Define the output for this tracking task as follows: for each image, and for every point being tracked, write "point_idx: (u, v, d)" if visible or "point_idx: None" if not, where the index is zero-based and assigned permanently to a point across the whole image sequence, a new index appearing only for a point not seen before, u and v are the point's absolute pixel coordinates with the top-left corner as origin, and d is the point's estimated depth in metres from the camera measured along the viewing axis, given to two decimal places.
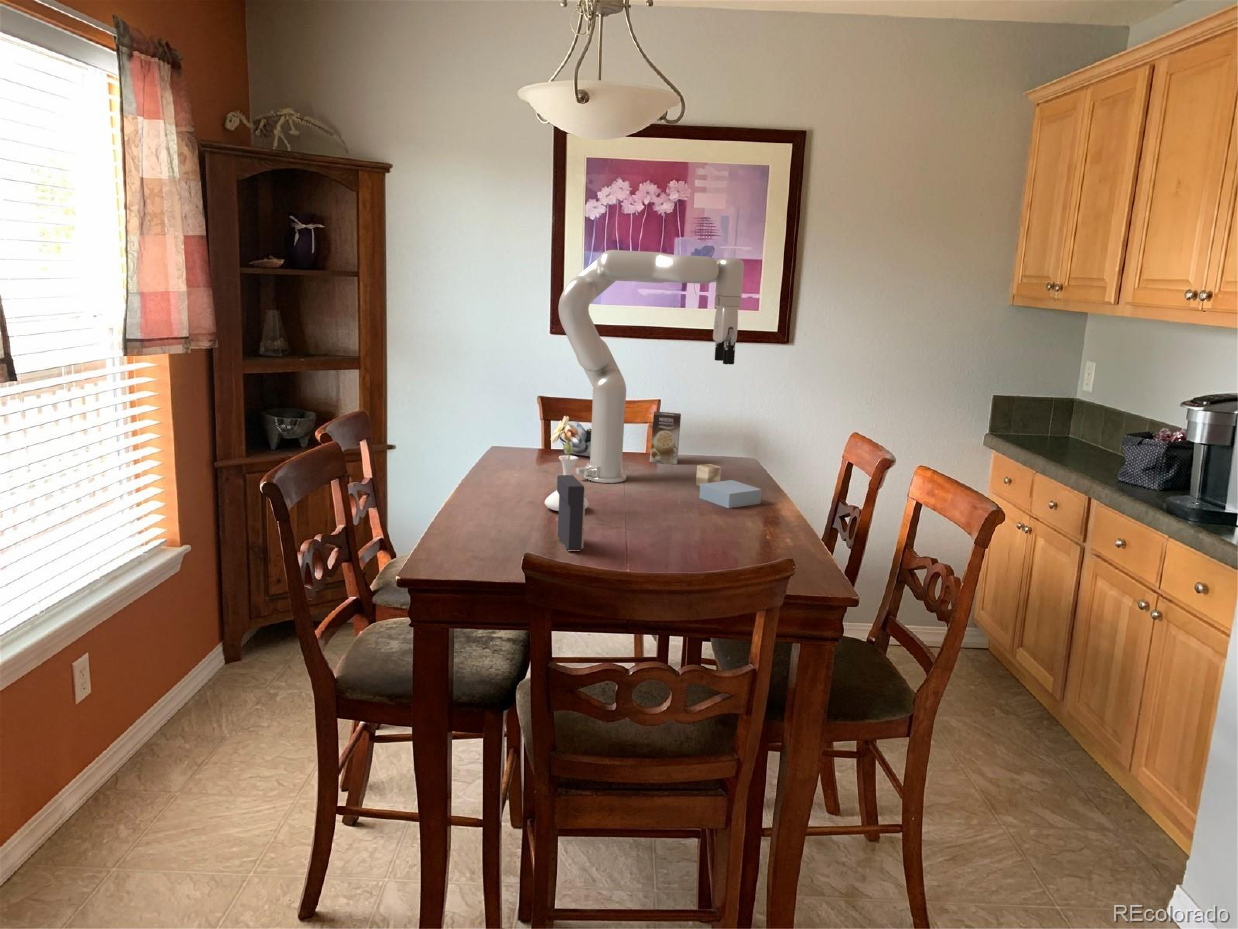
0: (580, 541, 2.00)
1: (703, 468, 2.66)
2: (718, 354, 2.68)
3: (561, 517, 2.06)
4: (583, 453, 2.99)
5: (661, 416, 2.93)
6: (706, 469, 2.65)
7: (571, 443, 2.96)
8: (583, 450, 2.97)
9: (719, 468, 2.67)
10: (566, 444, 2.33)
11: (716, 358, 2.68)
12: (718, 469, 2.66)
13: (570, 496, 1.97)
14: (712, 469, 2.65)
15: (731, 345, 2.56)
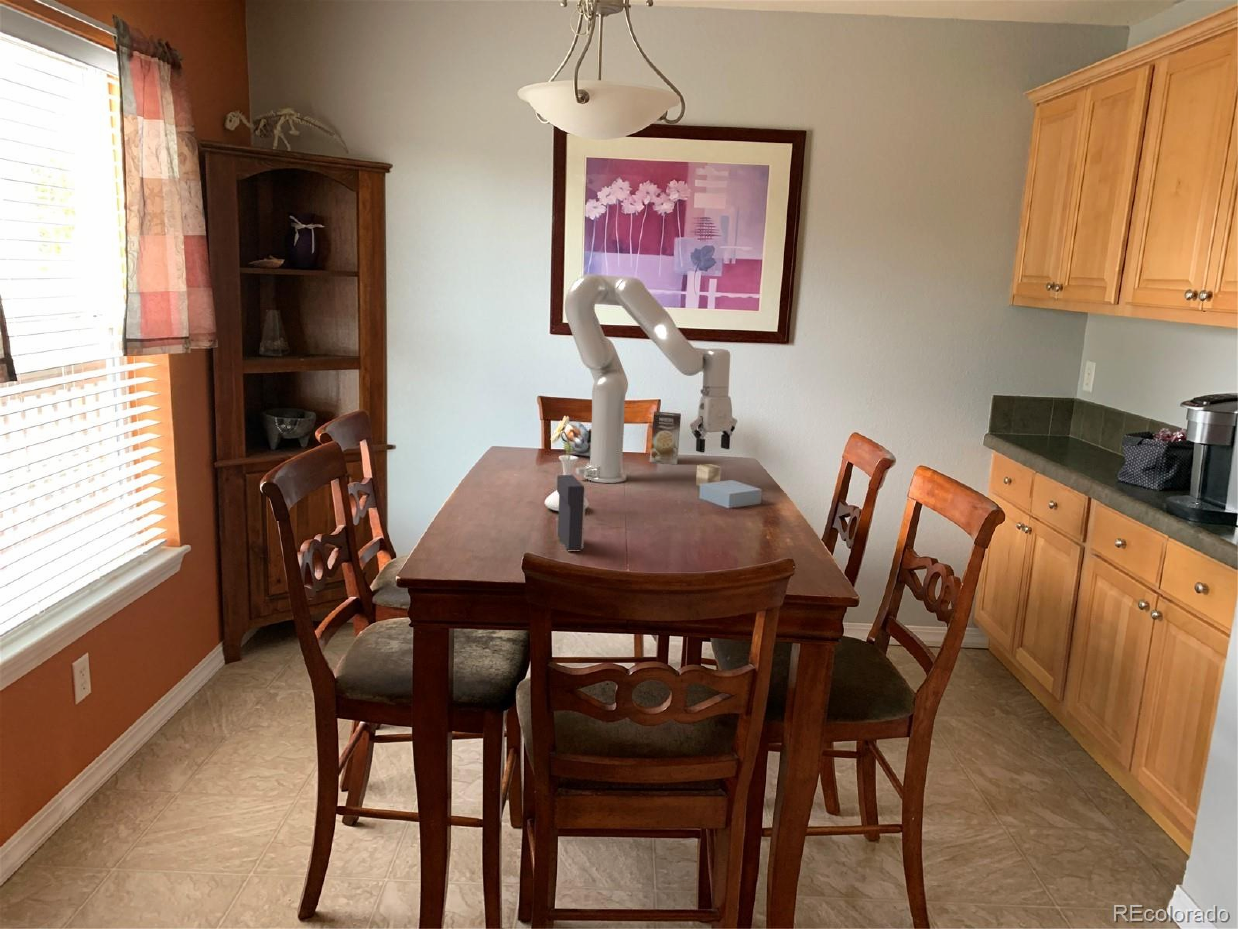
0: (580, 541, 2.00)
1: (703, 468, 2.66)
2: None
3: (561, 517, 2.06)
4: (585, 453, 2.98)
5: (661, 416, 2.93)
6: (706, 469, 2.65)
7: (573, 443, 2.96)
8: (585, 451, 2.97)
9: (719, 468, 2.67)
10: (566, 444, 2.33)
11: None
12: (718, 469, 2.66)
13: (570, 496, 1.97)
14: (712, 469, 2.65)
15: None
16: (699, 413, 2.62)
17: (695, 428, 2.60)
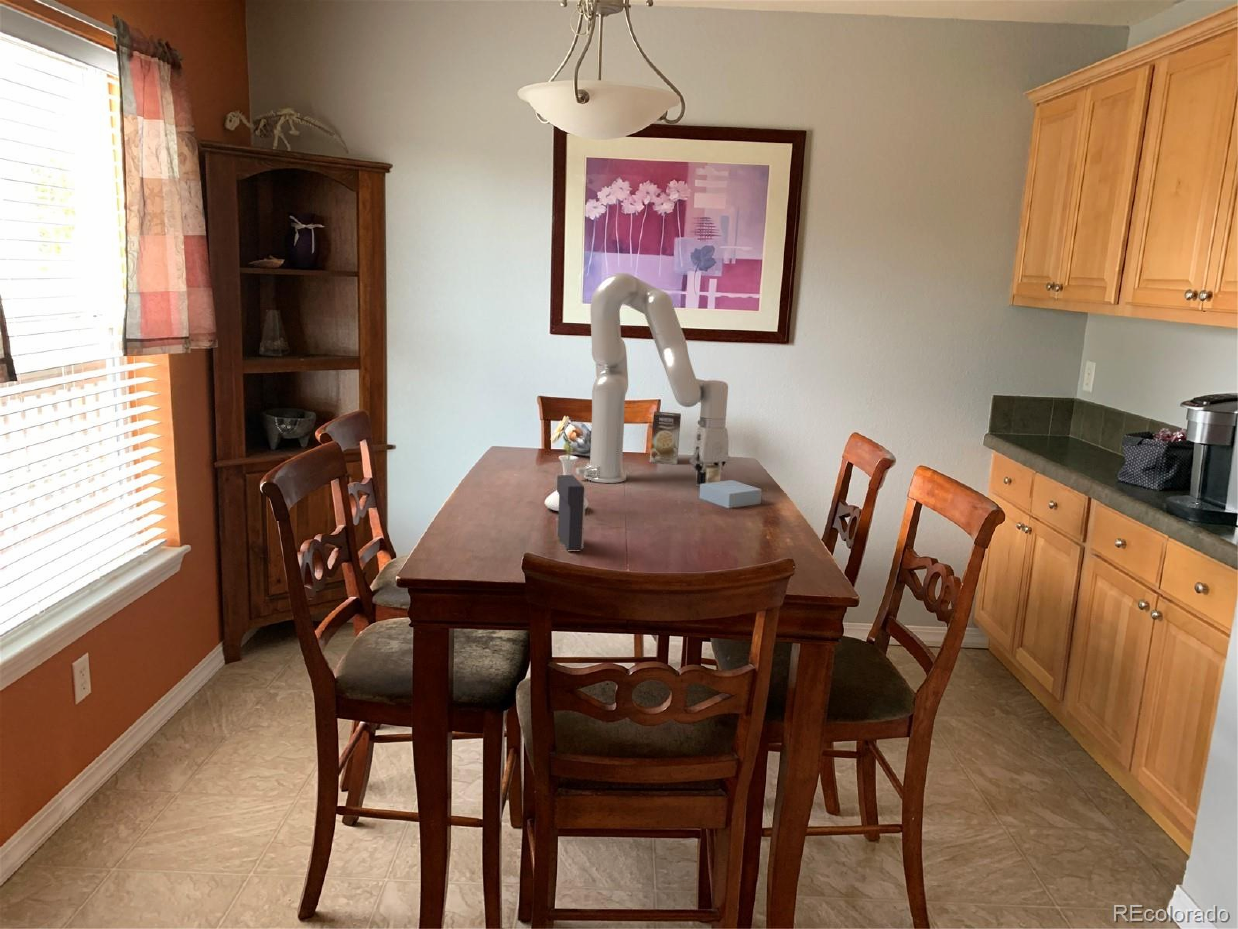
0: (580, 541, 2.00)
1: None
2: None
3: (561, 517, 2.06)
4: (588, 453, 2.98)
5: (661, 416, 2.93)
6: (706, 469, 2.65)
7: (576, 444, 2.95)
8: (588, 451, 2.97)
9: (719, 468, 2.67)
10: (566, 444, 2.33)
11: None
12: (718, 469, 2.66)
13: (570, 496, 1.97)
14: (712, 469, 2.65)
15: None
16: (696, 444, 2.64)
17: (695, 463, 2.63)
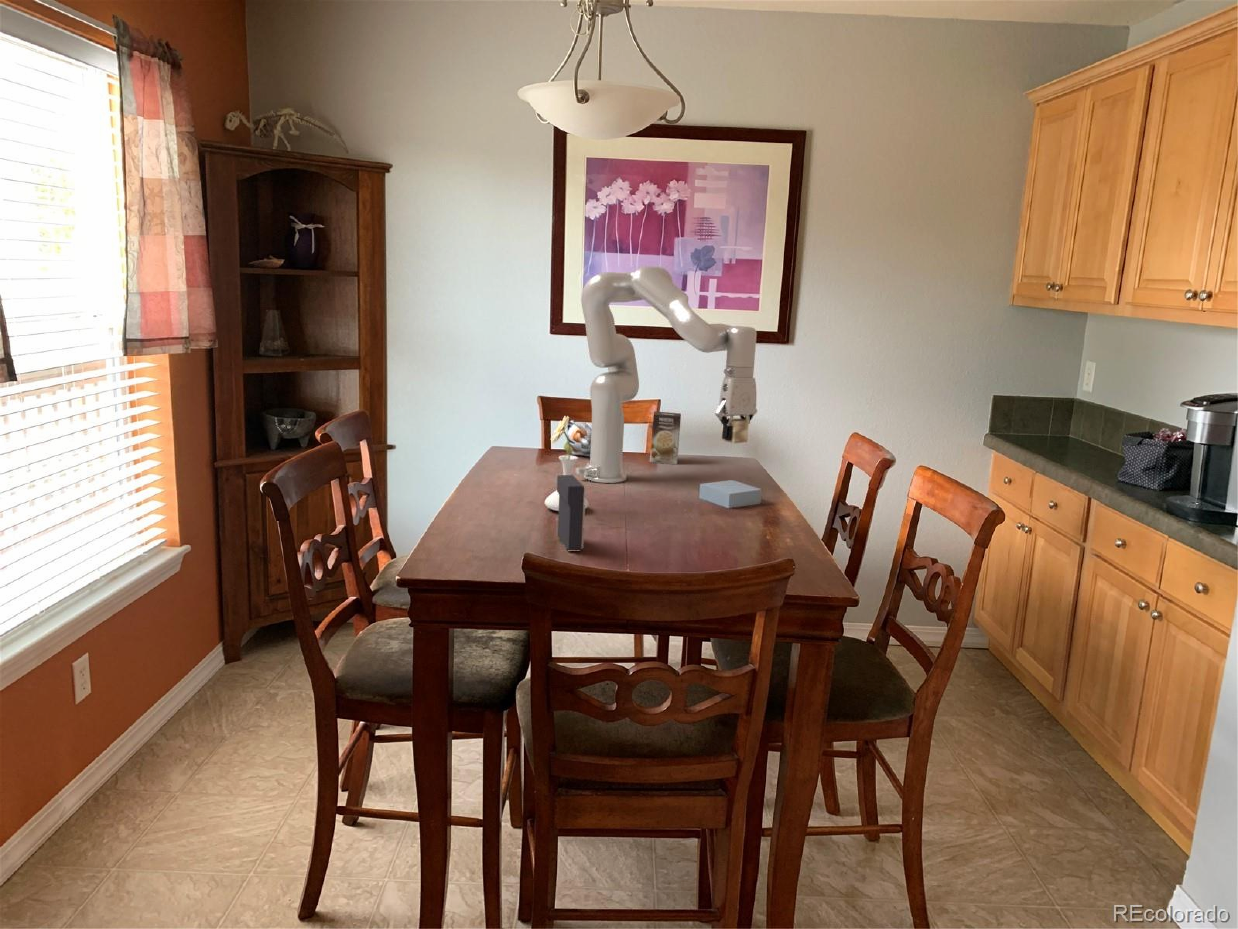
0: (580, 541, 2.00)
1: None
2: None
3: (561, 517, 2.06)
4: None
5: (661, 416, 2.93)
6: (733, 422, 2.45)
7: (580, 444, 2.95)
8: None
9: (747, 421, 2.47)
10: (566, 444, 2.33)
11: None
12: (746, 422, 2.47)
13: (570, 496, 1.97)
14: (739, 422, 2.46)
15: None
16: (721, 395, 2.45)
17: (721, 415, 2.44)
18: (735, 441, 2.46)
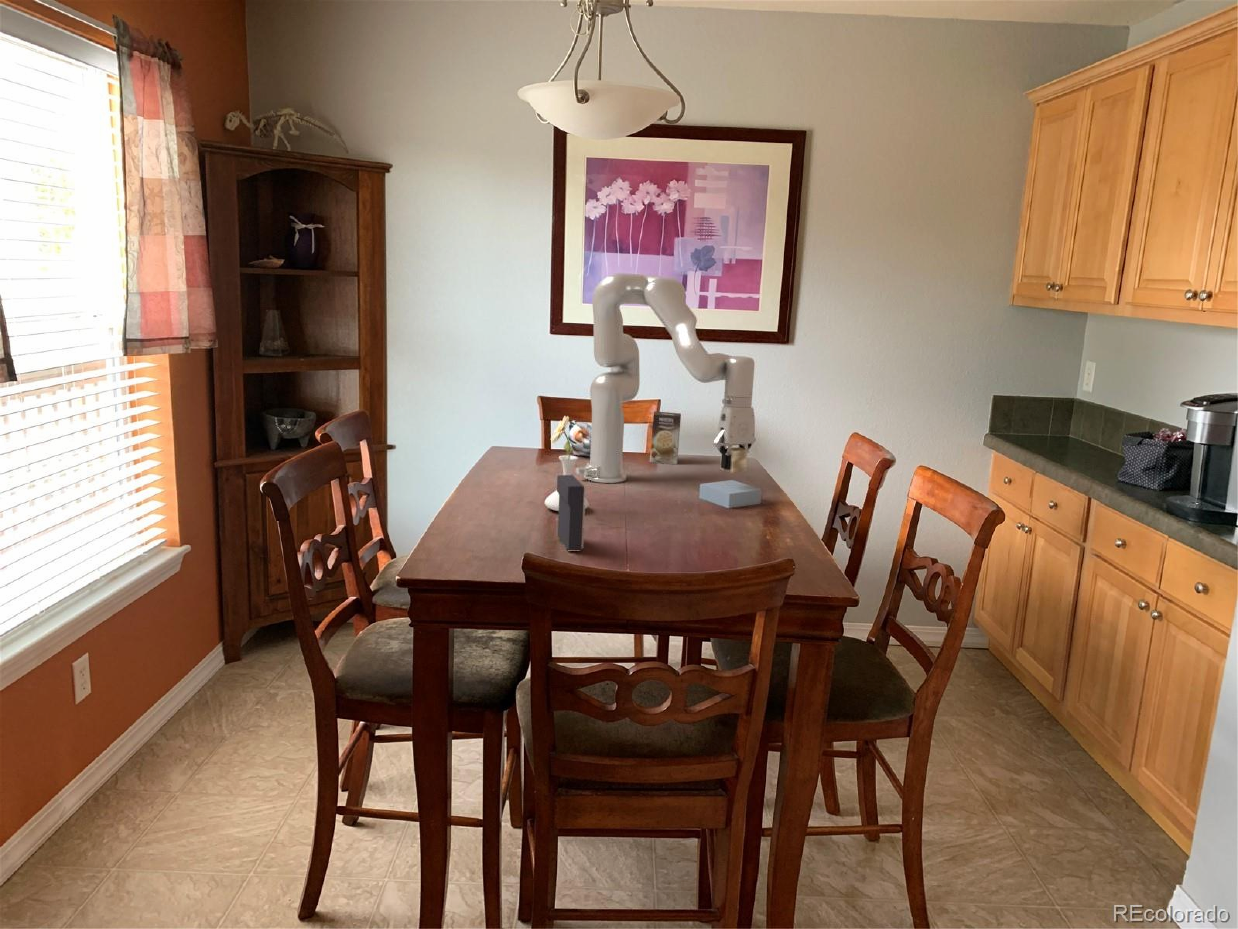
0: (580, 541, 2.00)
1: None
2: None
3: (561, 517, 2.06)
4: None
5: (661, 416, 2.93)
6: (731, 451, 2.47)
7: (582, 444, 2.95)
8: None
9: (745, 450, 2.49)
10: (566, 444, 2.33)
11: None
12: (744, 451, 2.48)
13: (569, 496, 1.97)
14: (738, 451, 2.47)
15: None
16: (720, 424, 2.46)
17: (720, 445, 2.45)
18: (734, 470, 2.47)
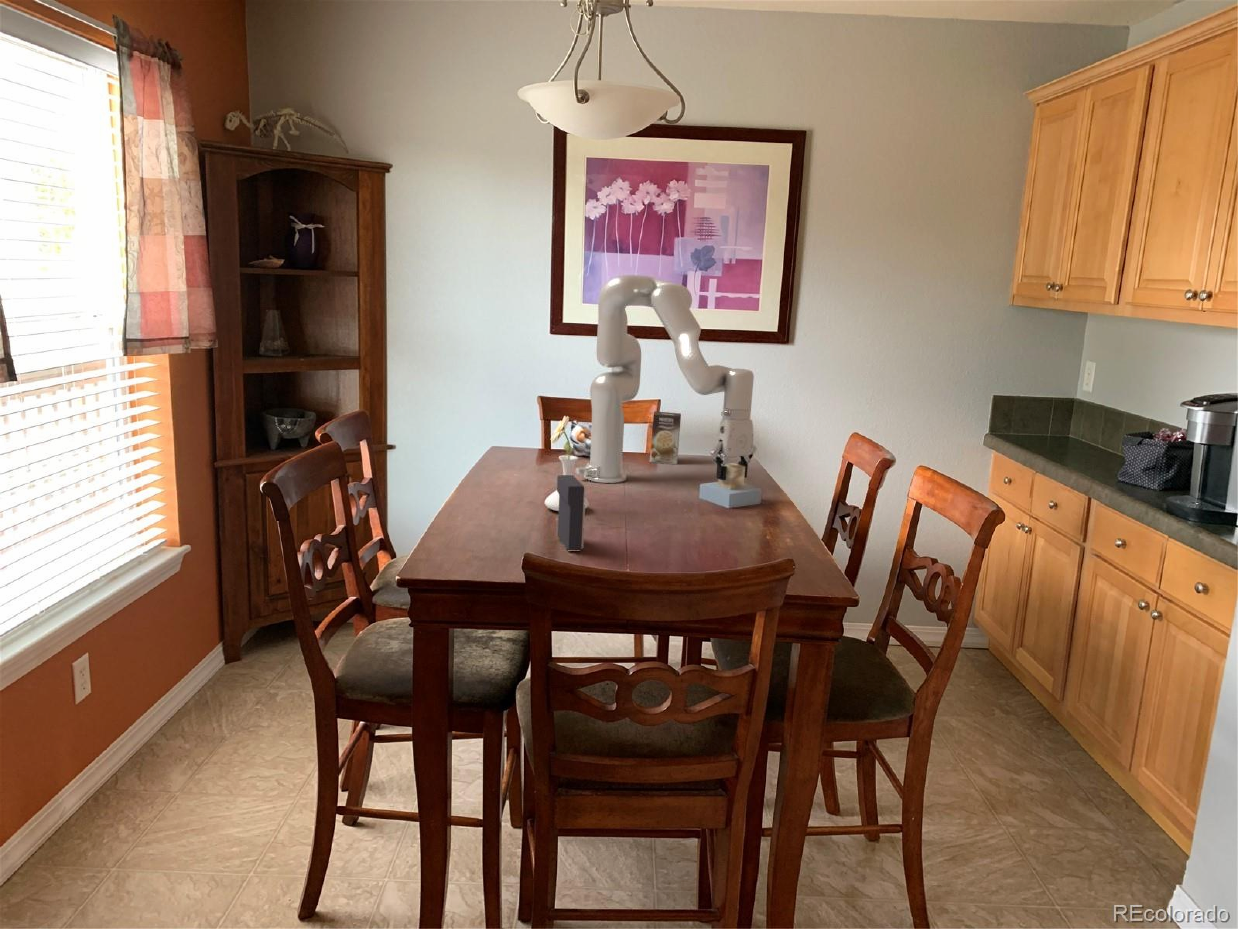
0: (580, 541, 2.00)
1: None
2: None
3: (561, 517, 2.06)
4: None
5: (661, 416, 2.93)
6: (729, 468, 2.48)
7: (584, 444, 2.95)
8: None
9: (743, 467, 2.50)
10: (566, 444, 2.33)
11: None
12: (742, 468, 2.49)
13: (570, 496, 1.97)
14: (736, 468, 2.48)
15: None
16: (719, 436, 2.47)
17: (716, 455, 2.45)
18: (731, 487, 2.49)
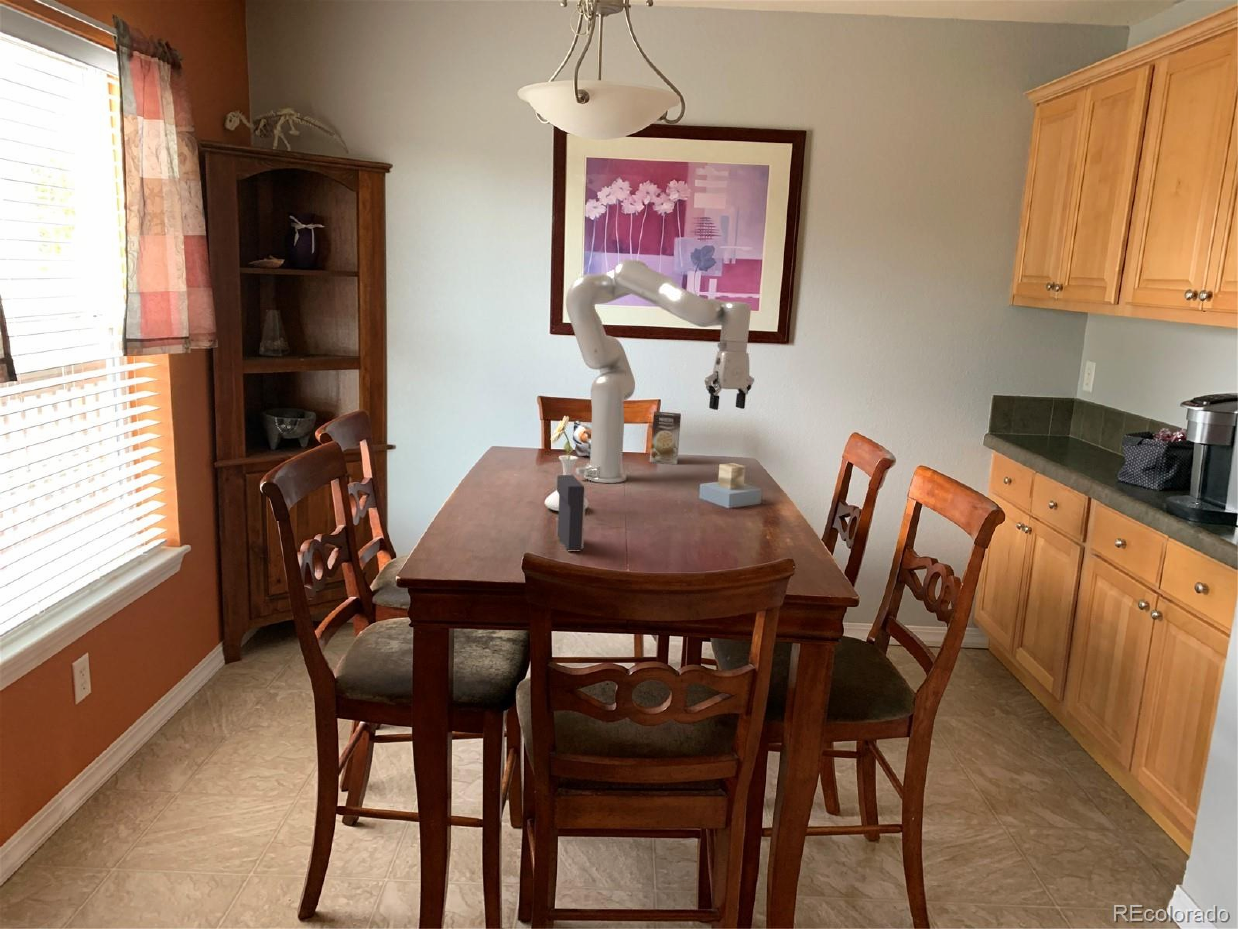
0: (580, 541, 2.00)
1: (726, 467, 2.49)
2: None
3: (561, 517, 2.06)
4: None
5: (661, 416, 2.93)
6: (729, 468, 2.48)
7: (587, 445, 2.94)
8: None
9: (743, 467, 2.50)
10: (566, 444, 2.33)
11: None
12: (742, 468, 2.49)
13: (570, 496, 1.97)
14: (736, 468, 2.48)
15: None
16: (715, 368, 2.50)
17: (709, 383, 2.48)
18: (731, 487, 2.49)
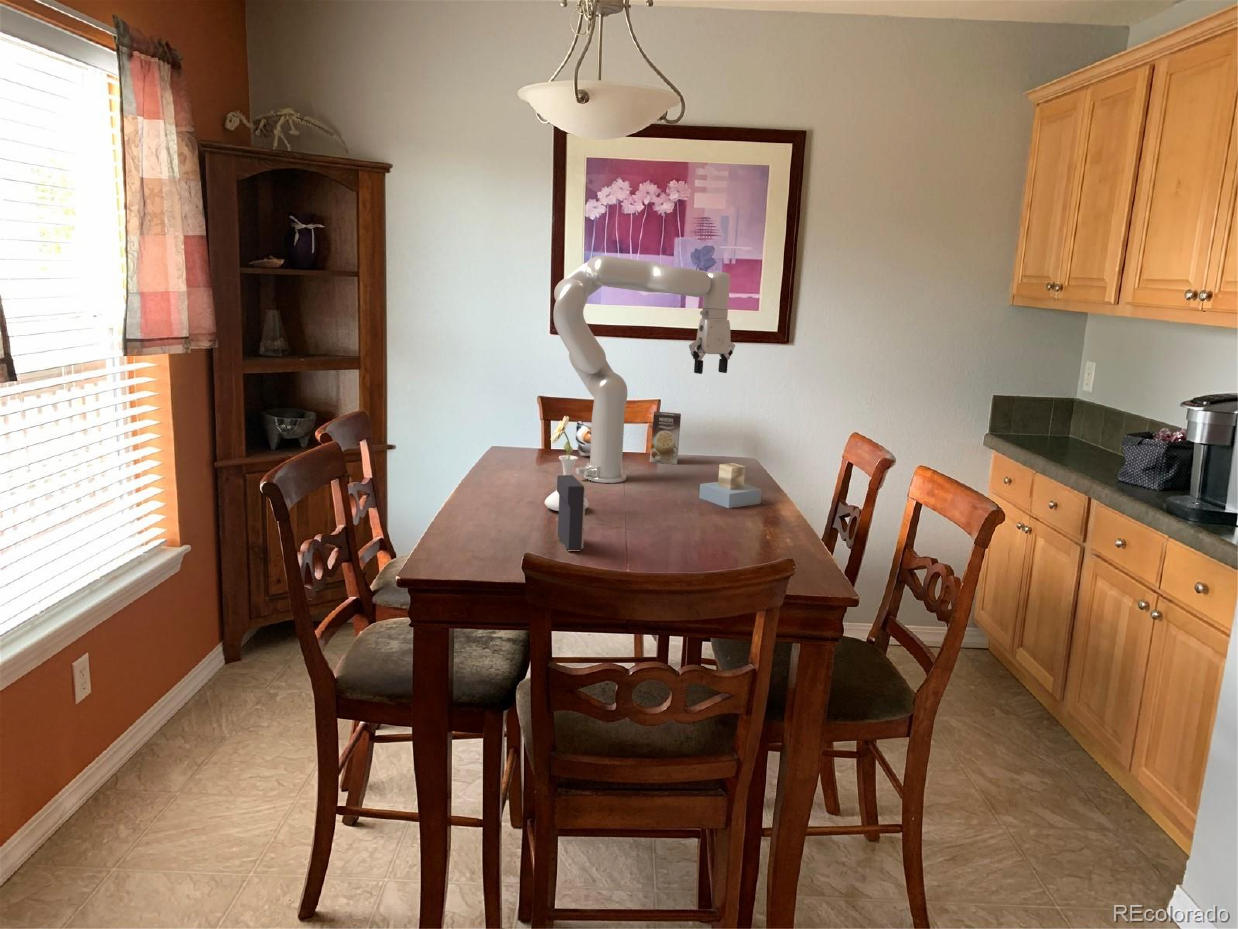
0: (580, 541, 2.00)
1: (726, 467, 2.49)
2: None
3: (561, 517, 2.06)
4: None
5: (661, 416, 2.93)
6: (729, 468, 2.48)
7: (590, 445, 2.94)
8: None
9: (743, 467, 2.50)
10: (566, 444, 2.33)
11: None
12: (742, 468, 2.49)
13: (569, 496, 1.97)
14: (736, 468, 2.48)
15: None
16: (698, 335, 2.66)
17: (694, 349, 2.65)
18: (731, 487, 2.49)
